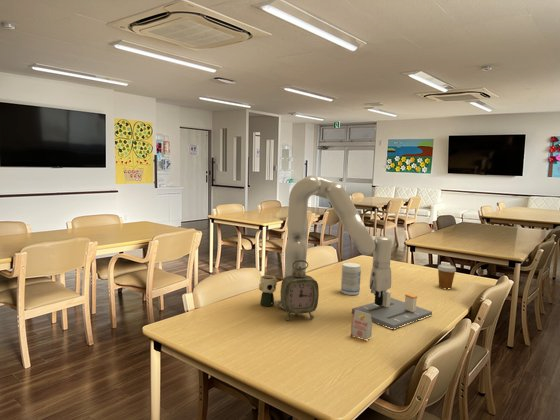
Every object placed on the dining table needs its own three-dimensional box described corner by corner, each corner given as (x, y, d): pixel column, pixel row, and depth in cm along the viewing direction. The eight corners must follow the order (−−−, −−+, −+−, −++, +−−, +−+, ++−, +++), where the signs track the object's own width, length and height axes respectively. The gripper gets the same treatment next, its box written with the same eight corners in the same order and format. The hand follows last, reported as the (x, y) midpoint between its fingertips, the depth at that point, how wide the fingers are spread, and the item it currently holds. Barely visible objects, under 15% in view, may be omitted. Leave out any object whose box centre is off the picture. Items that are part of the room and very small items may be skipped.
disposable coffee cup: (457, 290, 219) (459, 269, 218) (439, 289, 219) (441, 268, 218) (450, 285, 229) (452, 264, 227) (433, 284, 229) (435, 263, 228)
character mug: (264, 309, 179) (265, 281, 178) (253, 305, 184) (254, 277, 183) (281, 304, 187) (282, 276, 186) (270, 300, 192) (271, 273, 191)
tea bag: (355, 333, 159) (356, 308, 158) (371, 338, 155) (373, 312, 154) (350, 335, 156) (352, 310, 155) (366, 341, 152) (368, 315, 151)
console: (393, 330, 163) (393, 325, 163) (351, 312, 180) (352, 308, 180) (431, 316, 180) (432, 311, 180) (390, 301, 197) (390, 297, 197)
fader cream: (386, 307, 182) (387, 292, 181) (378, 304, 185) (379, 290, 184) (390, 306, 183) (391, 291, 183) (382, 303, 187) (383, 289, 186)
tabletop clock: (284, 322, 166) (286, 263, 163) (278, 314, 175) (280, 257, 172) (317, 320, 170) (320, 262, 167) (310, 312, 178) (312, 256, 175)
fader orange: (412, 312, 177) (413, 297, 176) (403, 309, 180) (405, 294, 180) (416, 311, 179) (417, 296, 178) (407, 308, 182) (408, 293, 181)
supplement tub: (362, 295, 204) (363, 267, 203) (343, 295, 203) (345, 267, 201) (355, 289, 214) (357, 262, 212) (338, 289, 213) (340, 262, 211)
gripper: (377, 268, 172) (374, 310, 174) (398, 264, 181) (395, 303, 183) (363, 264, 177) (360, 305, 180) (384, 260, 187) (382, 299, 189)
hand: (378, 304), depth 181 cm, fingers closed
